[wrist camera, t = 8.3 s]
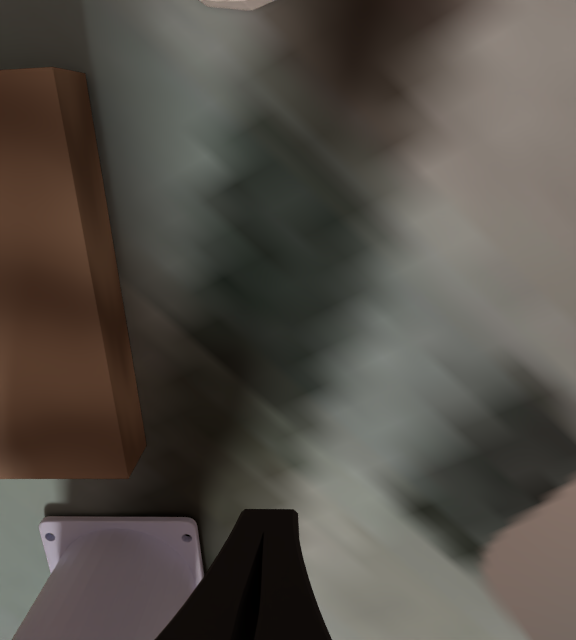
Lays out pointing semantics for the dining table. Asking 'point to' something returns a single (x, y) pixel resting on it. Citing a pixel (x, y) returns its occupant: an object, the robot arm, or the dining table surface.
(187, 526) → the robot arm
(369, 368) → the dining table surface
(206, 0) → the white cup
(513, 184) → the dining table surface
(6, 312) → the board
